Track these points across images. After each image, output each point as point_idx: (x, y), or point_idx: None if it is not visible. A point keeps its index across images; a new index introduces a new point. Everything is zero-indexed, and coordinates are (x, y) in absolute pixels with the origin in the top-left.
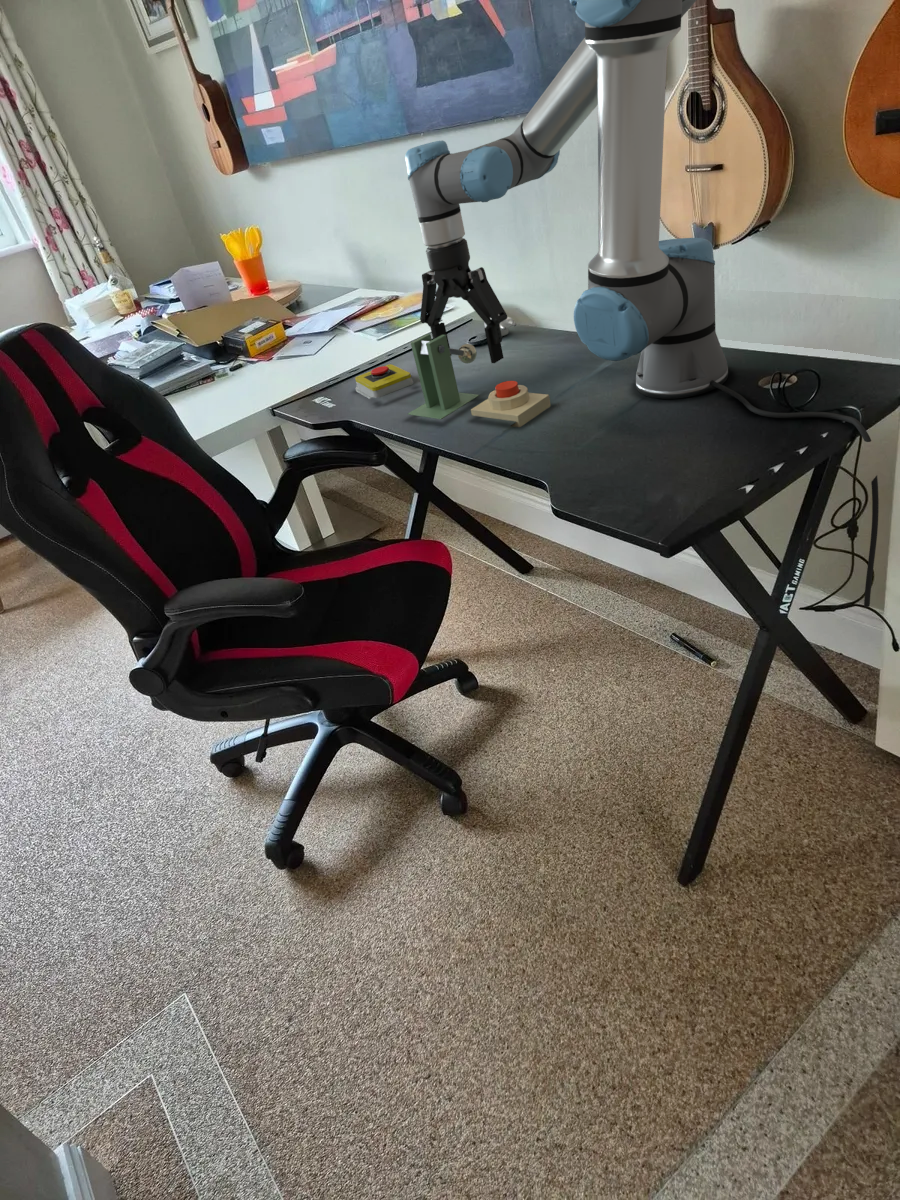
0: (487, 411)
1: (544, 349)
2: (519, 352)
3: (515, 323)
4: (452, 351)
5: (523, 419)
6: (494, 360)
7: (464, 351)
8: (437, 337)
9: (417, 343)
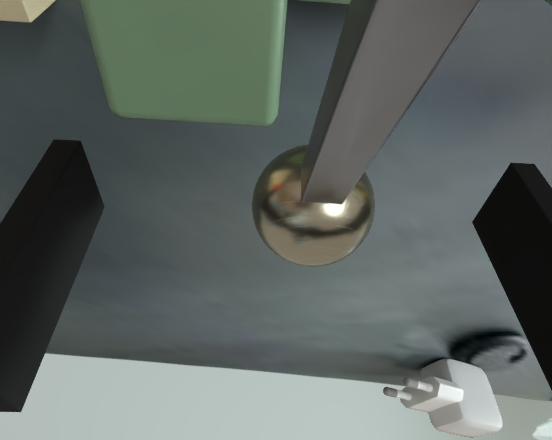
0: None
1: (268, 327)
2: (330, 315)
3: (385, 394)
4: (320, 121)
5: None
6: (47, 153)
7: (293, 194)
8: None
9: None
